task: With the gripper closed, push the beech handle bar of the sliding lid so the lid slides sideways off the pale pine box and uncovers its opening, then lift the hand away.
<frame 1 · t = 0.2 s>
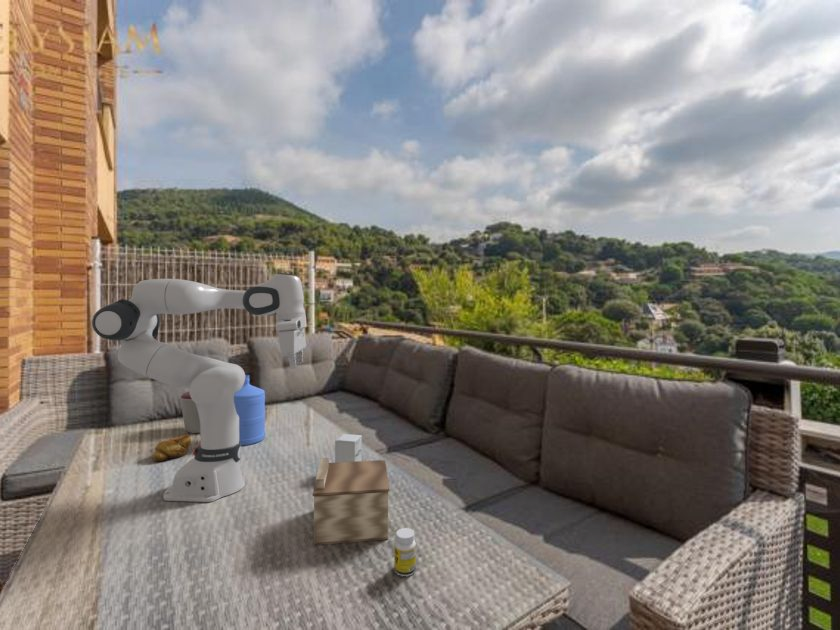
hand: (296, 365, 128), 39 cm above the table, tool pointing down, fingers open, 8 cm apart
box: (352, 522, 107), on the table
water jug: (245, 440, 171), on the table
canister: (201, 430, 184), on the table
lid: (352, 471, 106), point 14 cm above the table, slide at 0.0 cm
supplement box: (348, 473, 138), on the table
supplement bottle: (405, 571, 88), on the table
bread roll: (170, 457, 152), on the table
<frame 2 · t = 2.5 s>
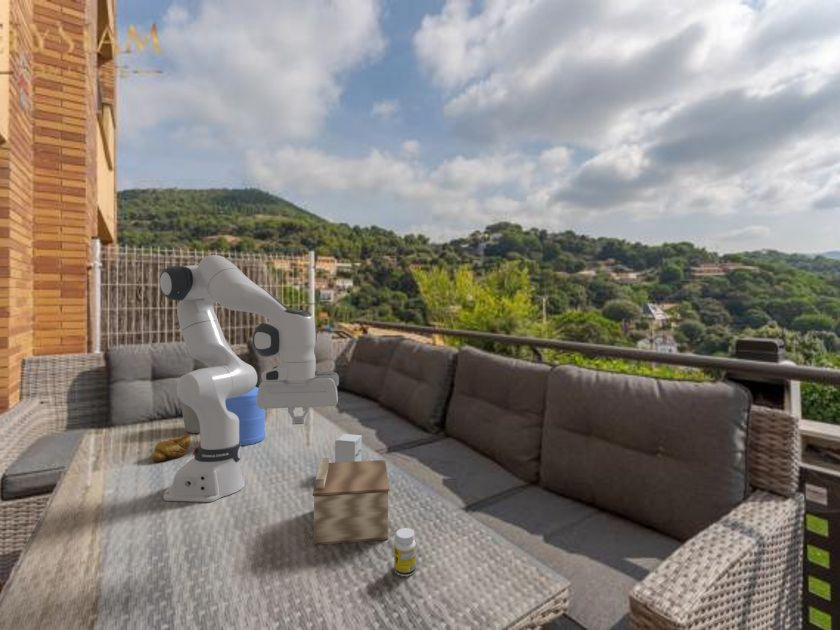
hand: (298, 423, 104), 27 cm above the table, tool pointing down, fingers closed
nothing on the table moved.
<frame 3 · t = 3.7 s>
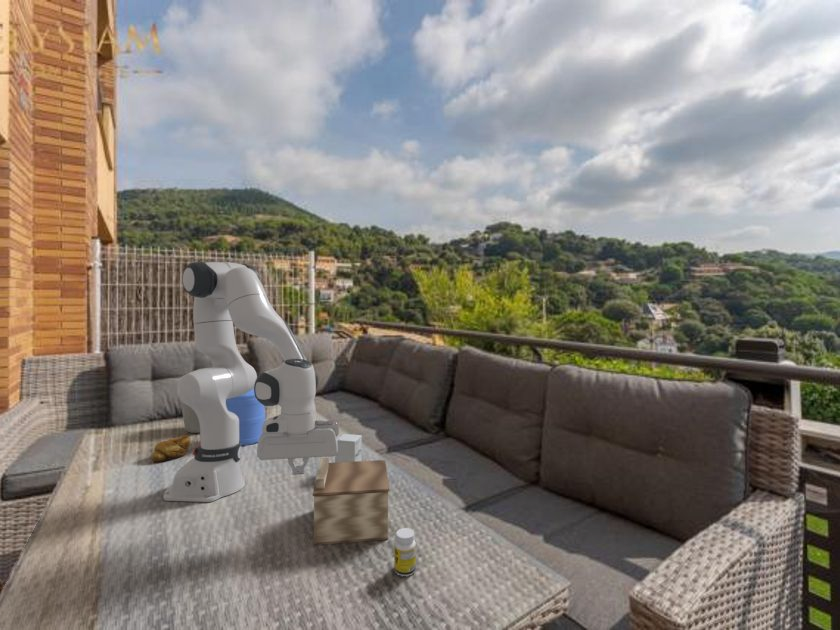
hand: (298, 473, 104), 14 cm above the table, tool pointing down, fingers closed
nothing on the table moved.
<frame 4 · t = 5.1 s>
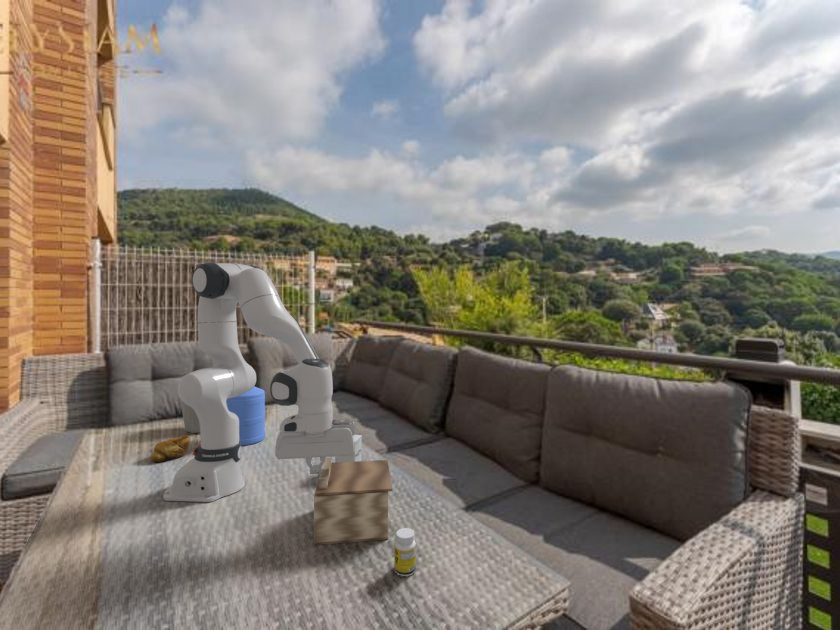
hand: (315, 472, 105), 14 cm above the table, tool pointing down, fingers closed
lid: (355, 471, 107), point 14 cm above the table, slide at 0.7 cm, touching gripper
everything else where it was.
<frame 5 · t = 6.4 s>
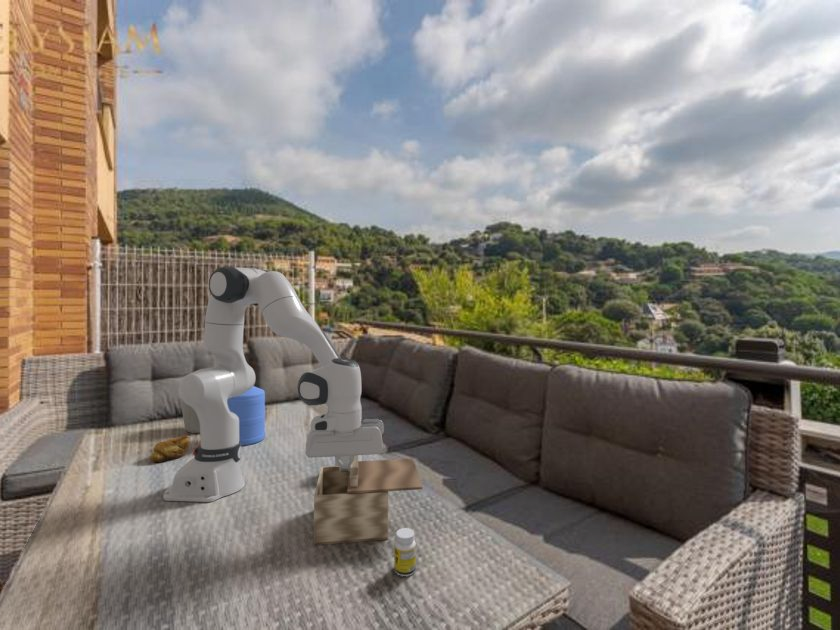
hand: (344, 471, 106), 14 cm above the table, tool pointing down, fingers closed
lid: (383, 470, 108), point 14 cm above the table, slide at 8.3 cm, touching gripper
everything else where it was.
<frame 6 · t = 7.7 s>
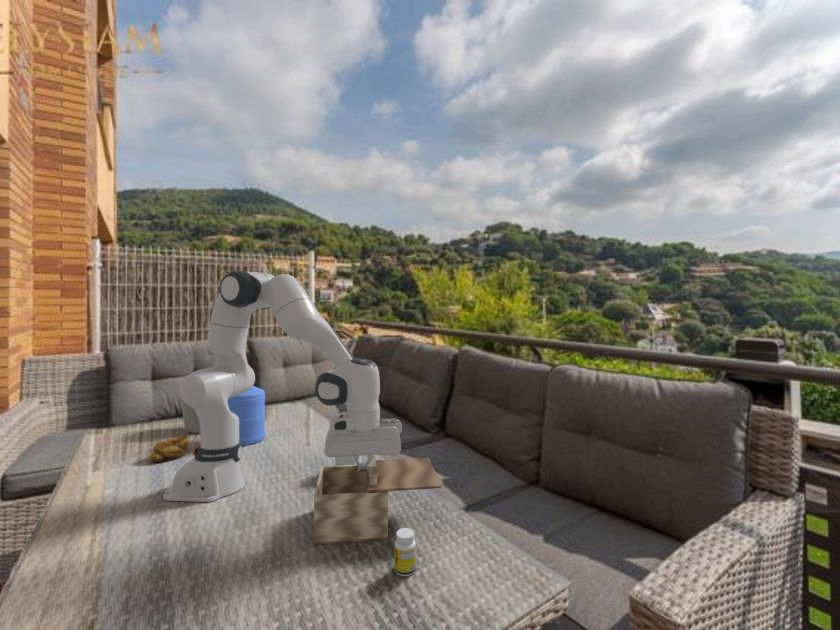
hand: (363, 470, 107), 14 cm above the table, tool pointing down, fingers closed
lid: (401, 469, 108), point 14 cm above the table, slide at 13.2 cm, touching gripper
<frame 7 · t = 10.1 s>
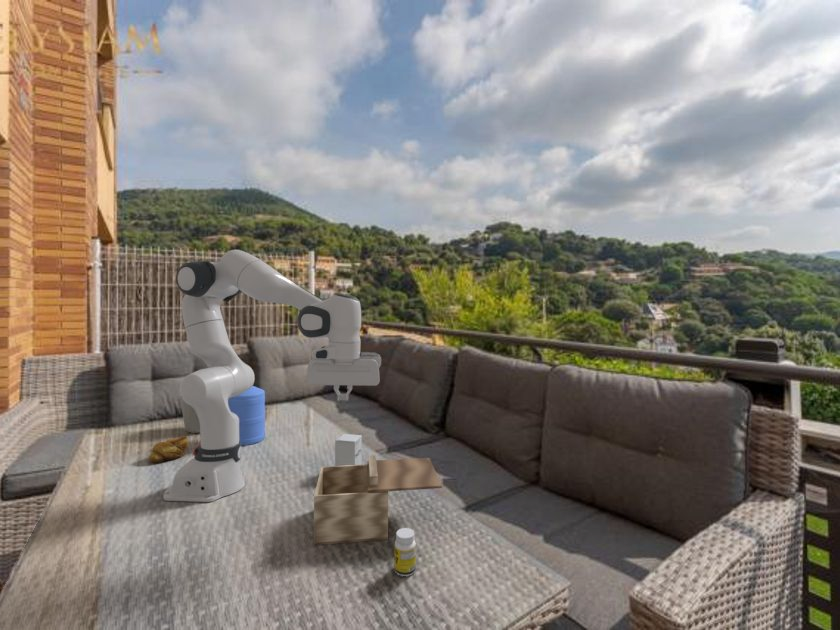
hand: (342, 400, 111), 32 cm above the table, tool pointing down, fingers closed
lid: (401, 469, 108), point 14 cm above the table, slide at 13.3 cm
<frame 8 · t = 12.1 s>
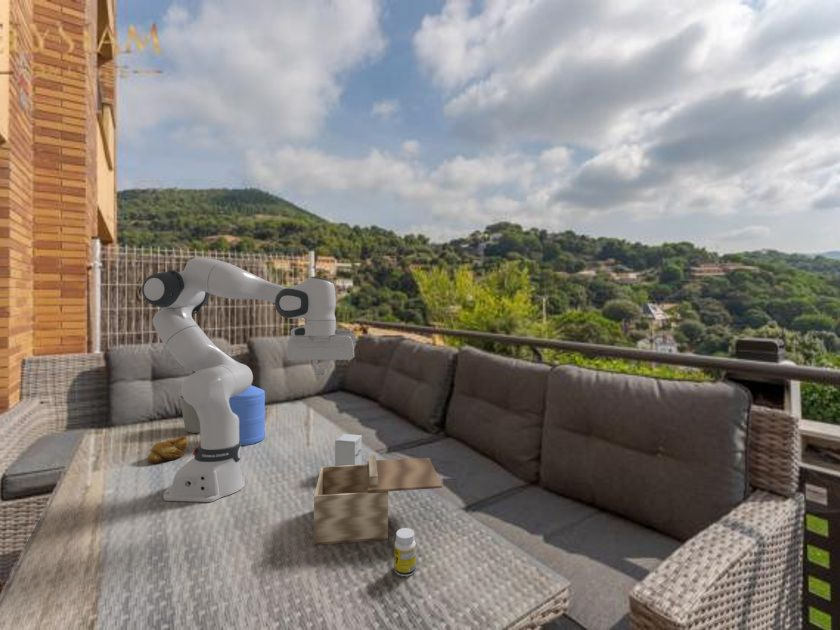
hand: (321, 374, 122), 37 cm above the table, tool pointing down, fingers closed
at the end: lid slide at 13.3 cm; supplement box moved 0.3 cm from its start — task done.
